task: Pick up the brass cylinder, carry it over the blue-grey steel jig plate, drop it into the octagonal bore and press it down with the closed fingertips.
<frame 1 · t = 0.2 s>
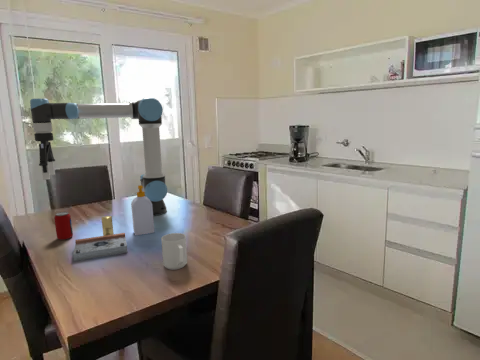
hand: (49, 177, 159), 28 cm above the table, fingers open, 13 cm apart
jig: (101, 250, 140), on the table
beverage can: (65, 238, 156), on the table
brass cylinder: (108, 237, 154), on the table
mug: (176, 267, 123), on the table
soap bottle: (143, 232, 161), on the table
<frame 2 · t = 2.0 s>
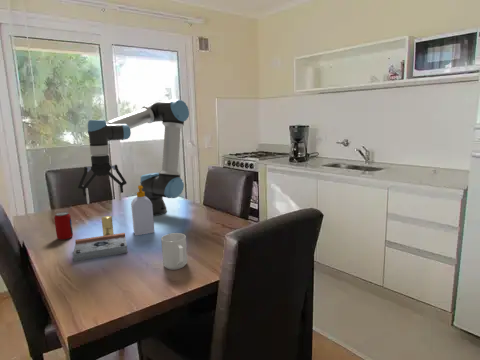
hand: (104, 201, 151), 18 cm above the table, fingers open, 13 cm apart
nothing on the table moved.
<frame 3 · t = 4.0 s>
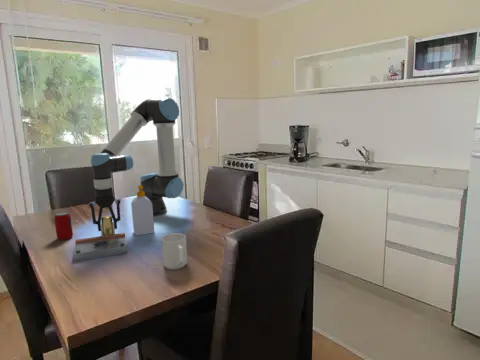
hand: (108, 236, 154), 1 cm above the table, fingers closed on brass cylinder, 4 cm apart
brass cylinder: (108, 237, 154), on the table, touching gripper
everything else where it was.
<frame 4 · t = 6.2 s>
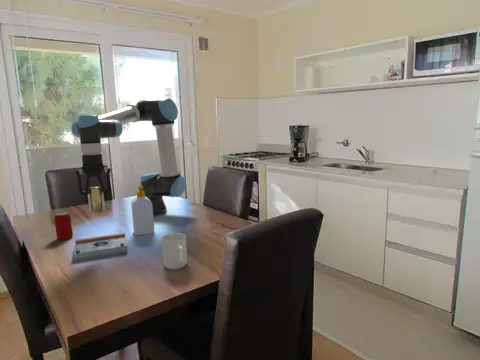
hand: (97, 209, 138), 17 cm above the table, fingers closed on brass cylinder, 4 cm apart
brass cylinder: (97, 211, 138), point 17 cm above the table, touching gripper
everything else where it was.
when the fingers open (5 cm above the table, at t = 8.3 s): brass cylinder drops 1 cm, resting in jig.
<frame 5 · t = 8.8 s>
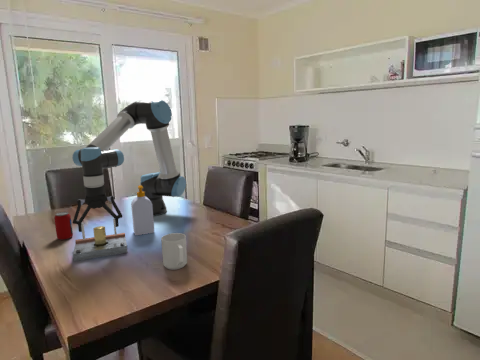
hand: (100, 236, 138), 6 cm above the table, fingers open, 11 cm apart
brass cylinder: (101, 250, 140), resting in jig
everything else where it was.
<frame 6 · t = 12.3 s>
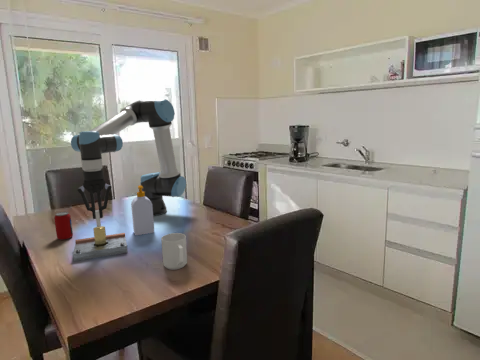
hand: (98, 225, 138), 11 cm above the table, fingers closed
nothing on the table moved.
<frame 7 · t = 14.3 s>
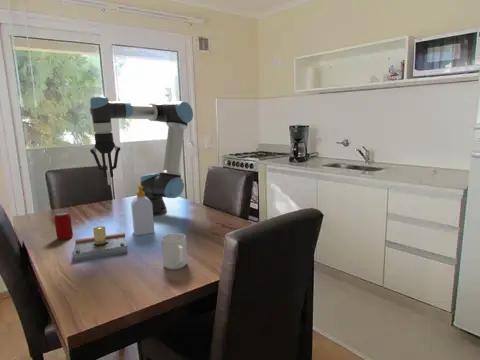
hand: (109, 184, 152), 25 cm above the table, fingers closed
nothing on the table moved.
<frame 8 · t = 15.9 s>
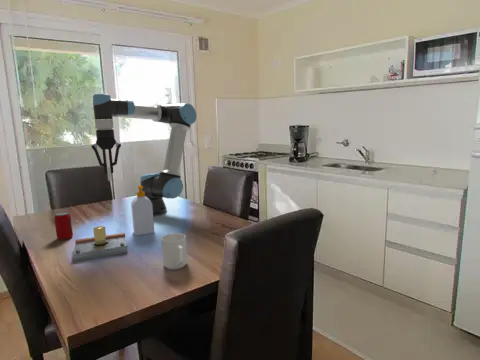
hand: (109, 180, 154), 26 cm above the table, fingers closed
nothing on the table moved.
at the end: brass cylinder 0.0 cm off-centre on the jig, point 0.0 cm above the jig's base; brass cylinder tilted 0°; the gripper is holding nothing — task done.
